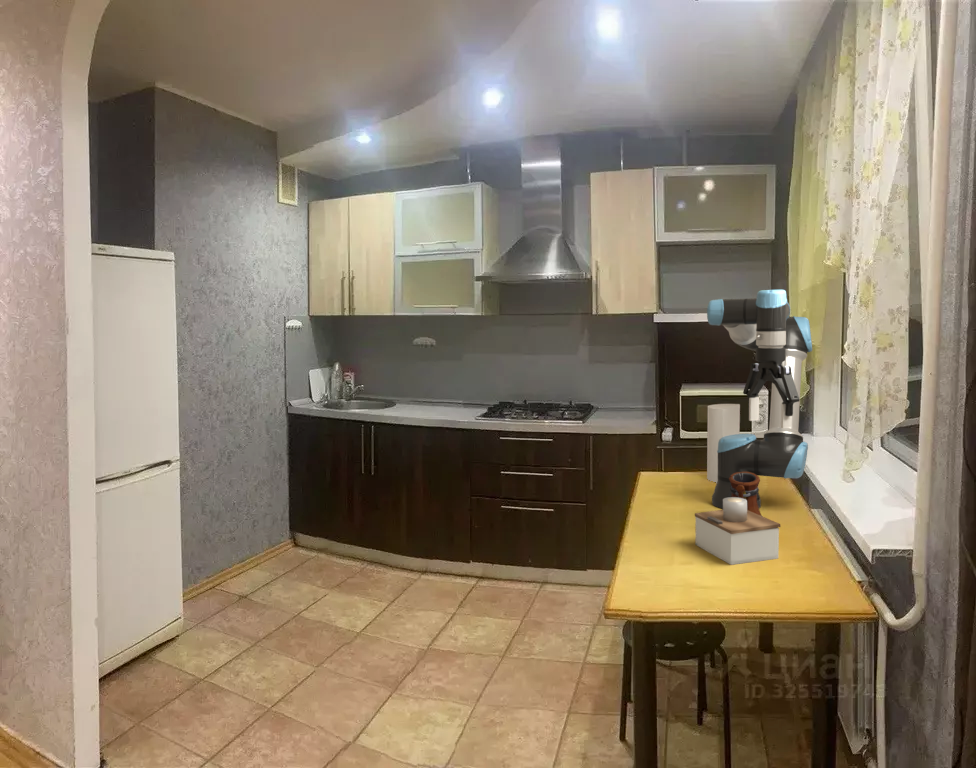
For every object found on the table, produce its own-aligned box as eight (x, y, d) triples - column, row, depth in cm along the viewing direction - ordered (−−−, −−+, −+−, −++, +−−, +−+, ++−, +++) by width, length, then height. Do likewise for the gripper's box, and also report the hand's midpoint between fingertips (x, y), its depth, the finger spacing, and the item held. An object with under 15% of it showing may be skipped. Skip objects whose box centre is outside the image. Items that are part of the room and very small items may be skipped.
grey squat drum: (738, 514, 181) (737, 495, 181) (752, 520, 176) (751, 501, 175) (718, 517, 180) (718, 498, 179) (732, 523, 174) (731, 504, 174)
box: (739, 539, 188) (740, 511, 188) (778, 558, 173) (778, 528, 172) (695, 544, 185) (695, 516, 184) (730, 564, 169) (731, 533, 169)
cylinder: (699, 481, 255) (700, 407, 252) (717, 472, 268) (717, 402, 266) (745, 487, 244) (746, 411, 241) (761, 478, 257) (762, 405, 254)
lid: (740, 510, 188) (740, 505, 188) (780, 527, 172) (780, 521, 172) (694, 516, 184) (694, 511, 184) (731, 534, 168) (731, 528, 168)
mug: (760, 537, 189) (761, 485, 188) (717, 532, 195) (718, 481, 193) (765, 520, 205) (766, 471, 204) (726, 515, 211) (726, 468, 209)
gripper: (730, 345, 194) (730, 418, 196) (790, 349, 170) (788, 432, 172) (753, 344, 196) (752, 416, 198) (815, 348, 172) (813, 430, 174)
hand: (769, 424), depth 185 cm, fingers open, 13 cm apart
